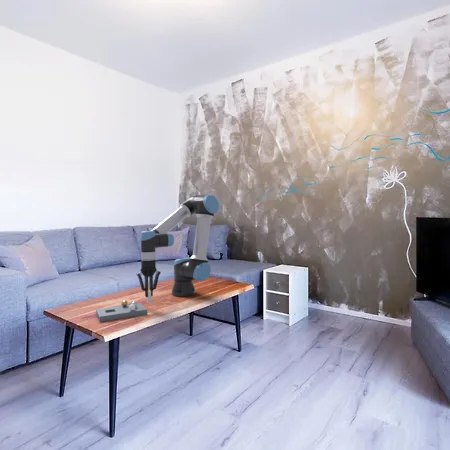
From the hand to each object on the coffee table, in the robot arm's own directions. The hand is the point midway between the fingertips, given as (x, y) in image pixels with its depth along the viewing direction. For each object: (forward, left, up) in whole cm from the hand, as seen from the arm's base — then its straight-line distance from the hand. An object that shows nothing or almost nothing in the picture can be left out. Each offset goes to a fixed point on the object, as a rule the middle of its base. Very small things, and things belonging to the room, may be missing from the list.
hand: (149, 302), depth 172 cm
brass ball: (+12, -5, 0) cm, 13 cm away
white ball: (+10, +5, 0) cm, 11 cm away
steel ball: (+8, 0, 0) cm, 8 cm away
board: (+14, 0, -4) cm, 15 cm away
